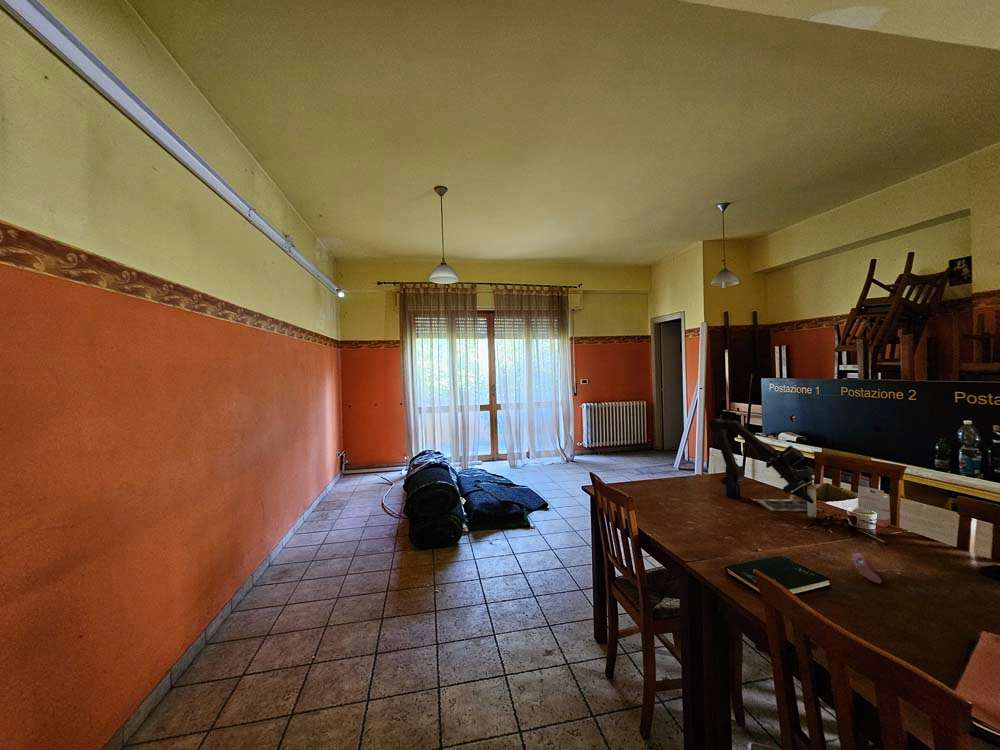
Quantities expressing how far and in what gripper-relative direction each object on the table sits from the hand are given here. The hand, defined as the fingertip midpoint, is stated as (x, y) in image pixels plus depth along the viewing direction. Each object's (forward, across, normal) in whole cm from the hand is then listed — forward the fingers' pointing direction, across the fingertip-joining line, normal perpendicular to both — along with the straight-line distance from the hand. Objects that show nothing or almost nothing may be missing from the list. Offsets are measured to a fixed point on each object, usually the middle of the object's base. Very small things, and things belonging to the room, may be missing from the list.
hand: (815, 501), depth 160 cm
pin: (+4, 0, +6) cm, 7 cm away
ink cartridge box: (+16, +11, -6) cm, 21 cm away
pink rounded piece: (+23, -43, -13) cm, 50 cm away
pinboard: (-4, +5, +14) cm, 15 cm away
